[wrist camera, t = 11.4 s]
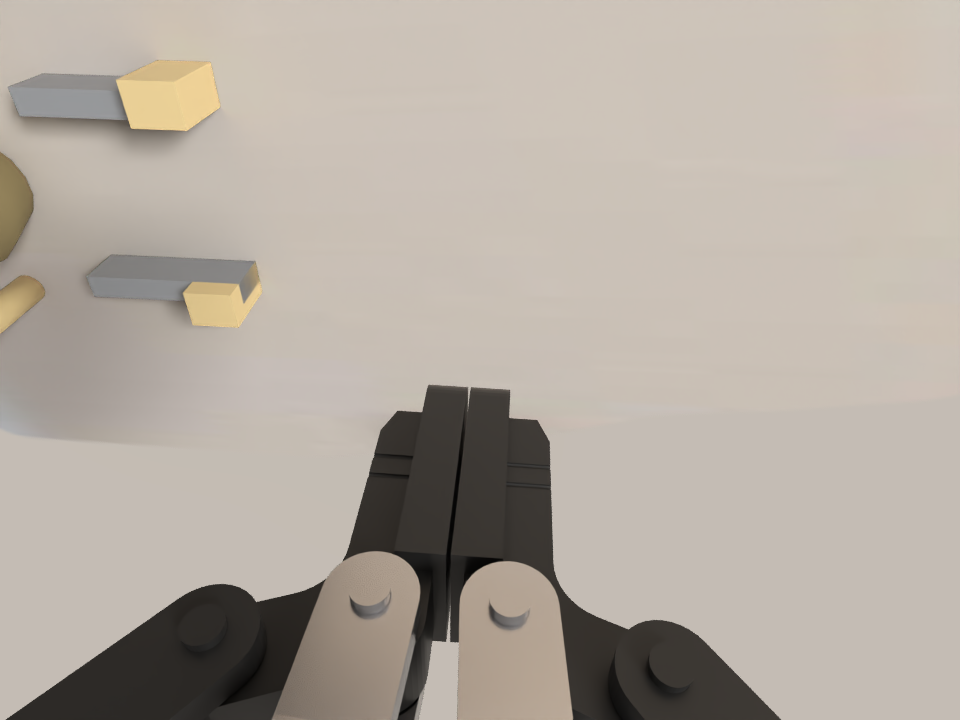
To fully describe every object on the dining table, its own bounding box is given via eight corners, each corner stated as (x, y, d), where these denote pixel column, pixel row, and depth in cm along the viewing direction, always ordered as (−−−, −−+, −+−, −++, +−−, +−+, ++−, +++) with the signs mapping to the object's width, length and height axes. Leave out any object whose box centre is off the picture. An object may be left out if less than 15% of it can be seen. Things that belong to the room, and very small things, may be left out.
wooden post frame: (-117, 20, 35) (-220, 41, 30) (203, 30, 34) (148, 53, 29) (22, 299, 45) (-38, 347, 41) (266, 311, 45) (234, 362, 40)
